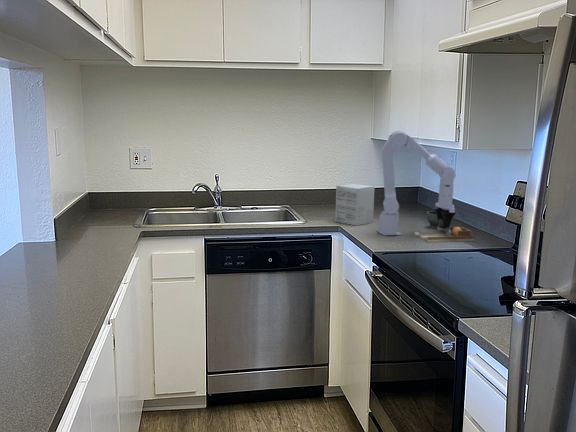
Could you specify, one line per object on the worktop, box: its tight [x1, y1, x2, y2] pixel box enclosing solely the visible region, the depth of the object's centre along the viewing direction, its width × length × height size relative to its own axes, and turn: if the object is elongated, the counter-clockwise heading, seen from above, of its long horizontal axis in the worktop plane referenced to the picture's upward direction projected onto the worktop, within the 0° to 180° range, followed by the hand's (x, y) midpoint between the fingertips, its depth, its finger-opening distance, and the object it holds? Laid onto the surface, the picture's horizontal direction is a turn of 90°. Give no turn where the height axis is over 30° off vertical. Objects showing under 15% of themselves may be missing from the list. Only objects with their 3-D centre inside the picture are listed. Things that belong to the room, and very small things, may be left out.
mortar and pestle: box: [426, 210, 439, 230], centre depth 265 cm, size 11×9×12 cm
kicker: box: [436, 218, 452, 236], centre depth 244 cm, size 9×3×6 cm, turn 10°
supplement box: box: [334, 183, 375, 226], centre depth 274 cm, size 13×13×18 cm
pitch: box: [412, 226, 475, 243], centre depth 244 cm, size 16×20×4 cm
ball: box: [452, 226, 462, 236], centre depth 242 cm, size 4×4×4 cm
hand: (443, 226), depth 247 cm, fingers open, 5 cm apart
